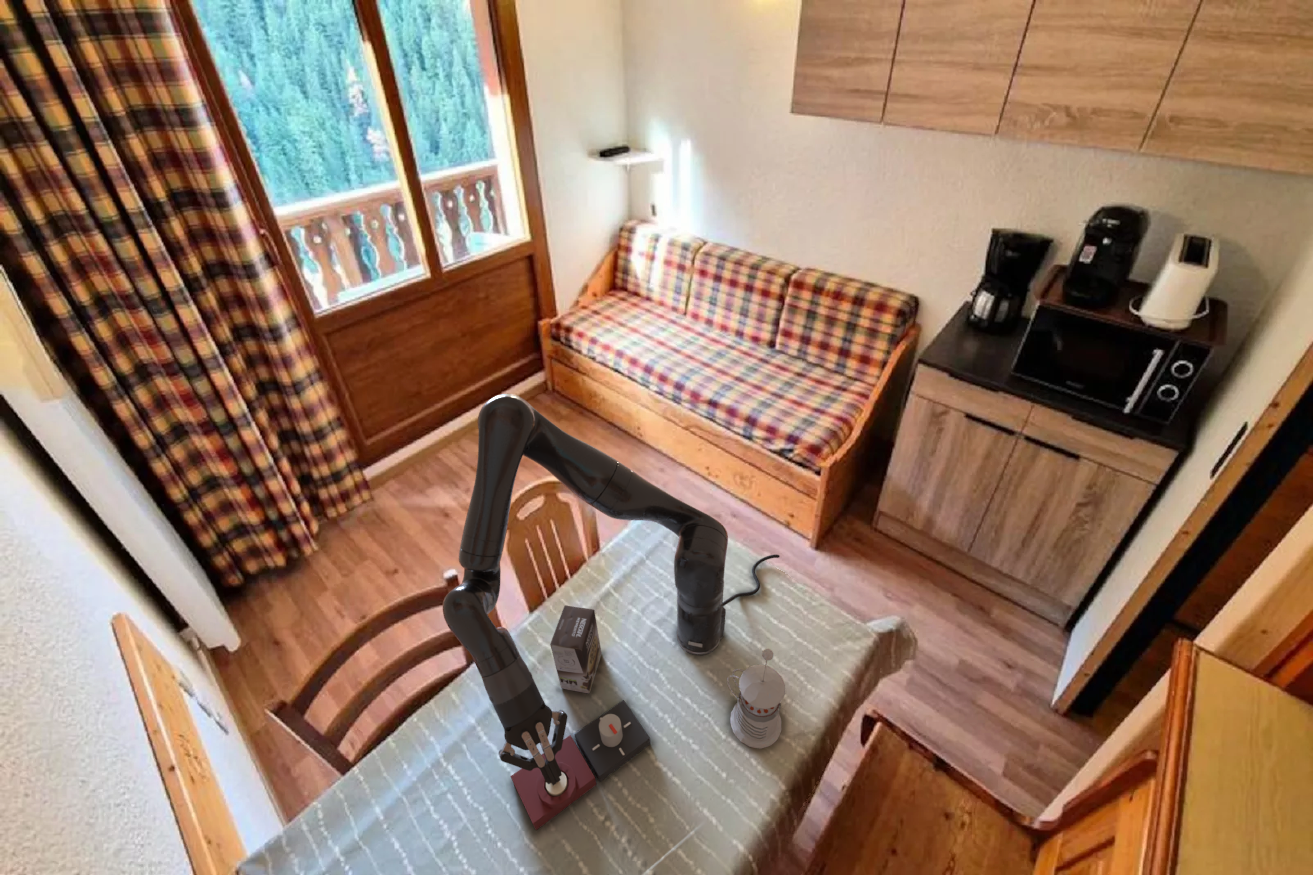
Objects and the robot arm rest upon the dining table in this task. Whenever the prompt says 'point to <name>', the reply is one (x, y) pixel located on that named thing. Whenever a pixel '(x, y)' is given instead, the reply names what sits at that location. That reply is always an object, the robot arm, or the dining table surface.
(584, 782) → the red button box
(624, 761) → the panel
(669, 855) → the dining table surface
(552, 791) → the button
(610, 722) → the timer knob
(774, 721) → the french press
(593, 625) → the coffee box
